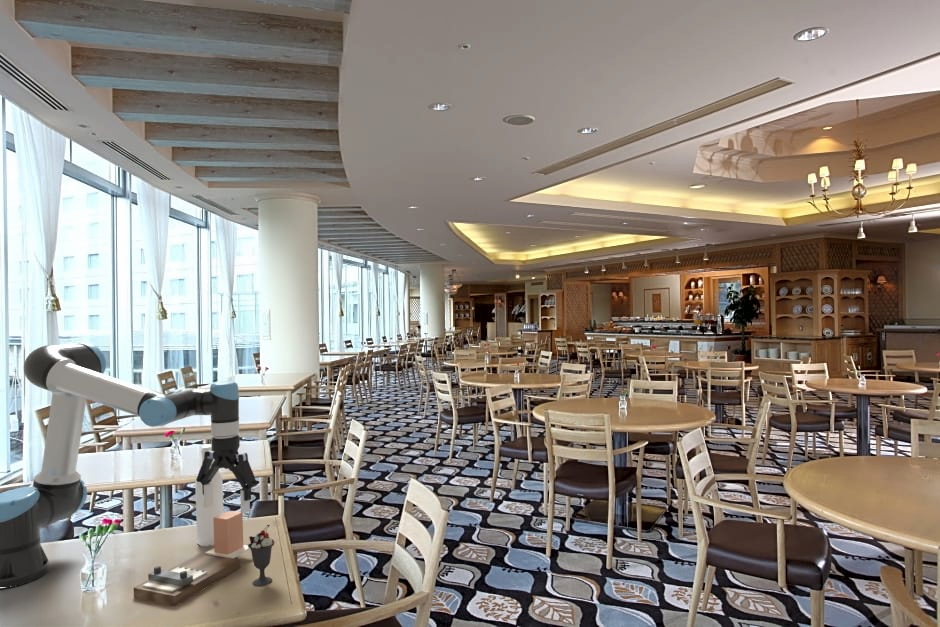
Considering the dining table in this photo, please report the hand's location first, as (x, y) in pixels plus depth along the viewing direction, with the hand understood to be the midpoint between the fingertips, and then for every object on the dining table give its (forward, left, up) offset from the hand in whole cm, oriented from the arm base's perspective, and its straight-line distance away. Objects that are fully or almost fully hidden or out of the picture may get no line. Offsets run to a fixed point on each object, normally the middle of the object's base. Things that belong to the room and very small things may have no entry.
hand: (226, 508), depth 167 cm
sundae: (+19, -8, -15) cm, 26 cm away
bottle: (-16, +9, -15) cm, 24 cm away
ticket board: (0, -14, -15) cm, 20 cm away
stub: (0, 0, -12) cm, 12 cm away
